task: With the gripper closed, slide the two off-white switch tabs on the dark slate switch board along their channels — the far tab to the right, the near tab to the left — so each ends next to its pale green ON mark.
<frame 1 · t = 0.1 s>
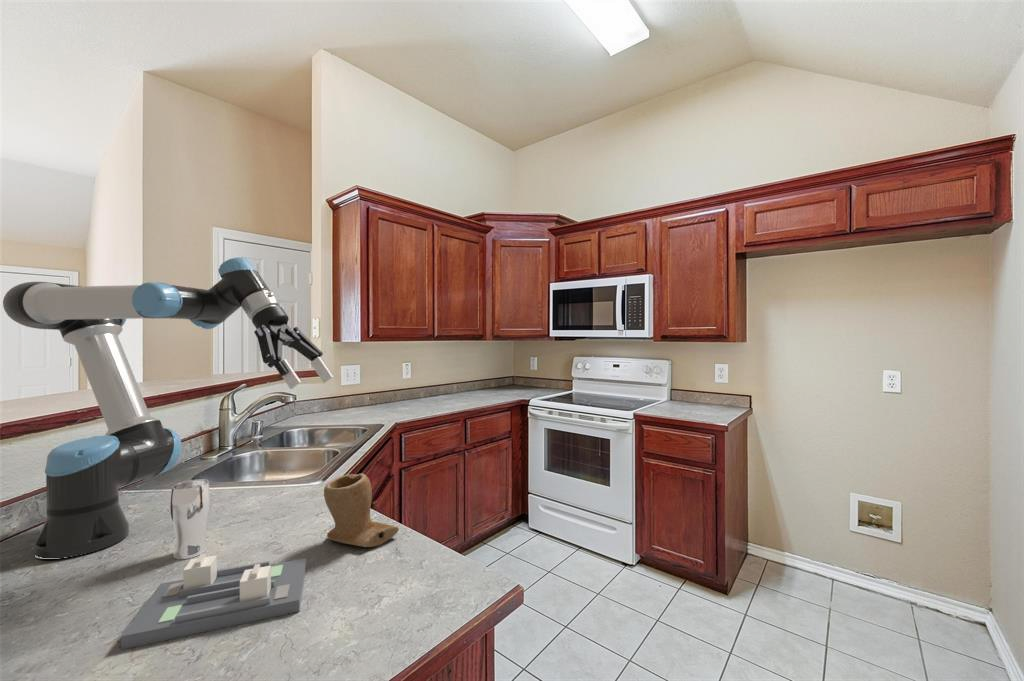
hand: (313, 382, 105), 36 cm above the counter, tool tilted 35°, fingers open, 13 cm apart
beer glass: (190, 553, 93), on the counter
tab b: (255, 582, 73), point 5 cm above the counter, slide at 0.0 cm
tab a: (200, 571, 77), point 5 cm above the counter, slide at 0.0 cm
switch board: (227, 602, 75), on the counter
clay platform pipe: (357, 542, 98), on the counter
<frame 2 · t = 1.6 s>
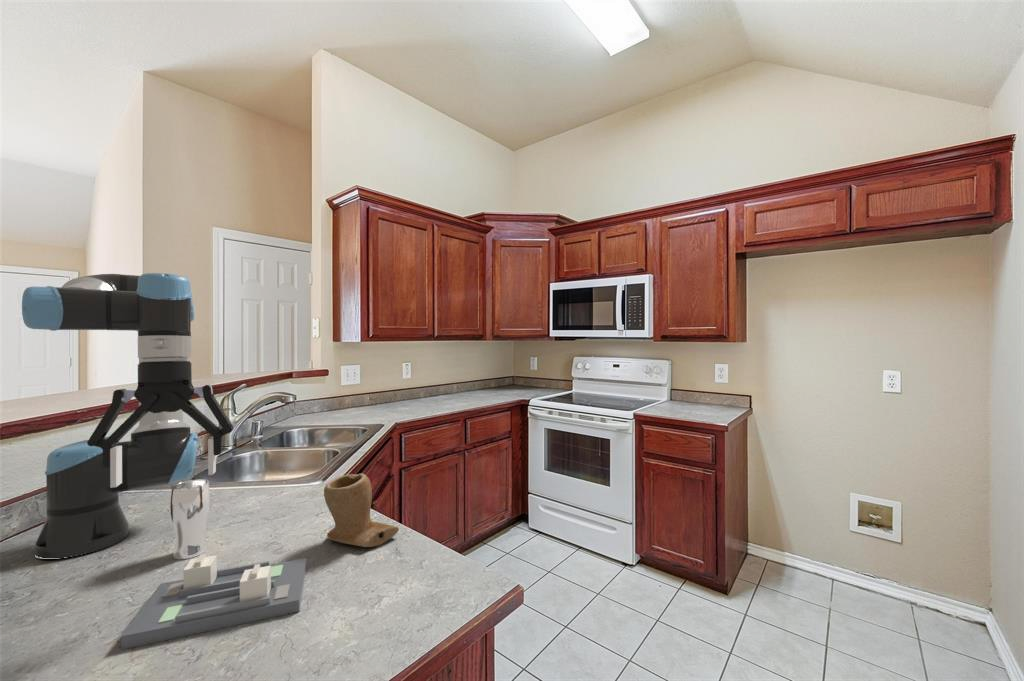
hand: (166, 479, 76), 22 cm above the counter, tool pointing down, fingers open, 13 cm apart
nothing on the counter moved.
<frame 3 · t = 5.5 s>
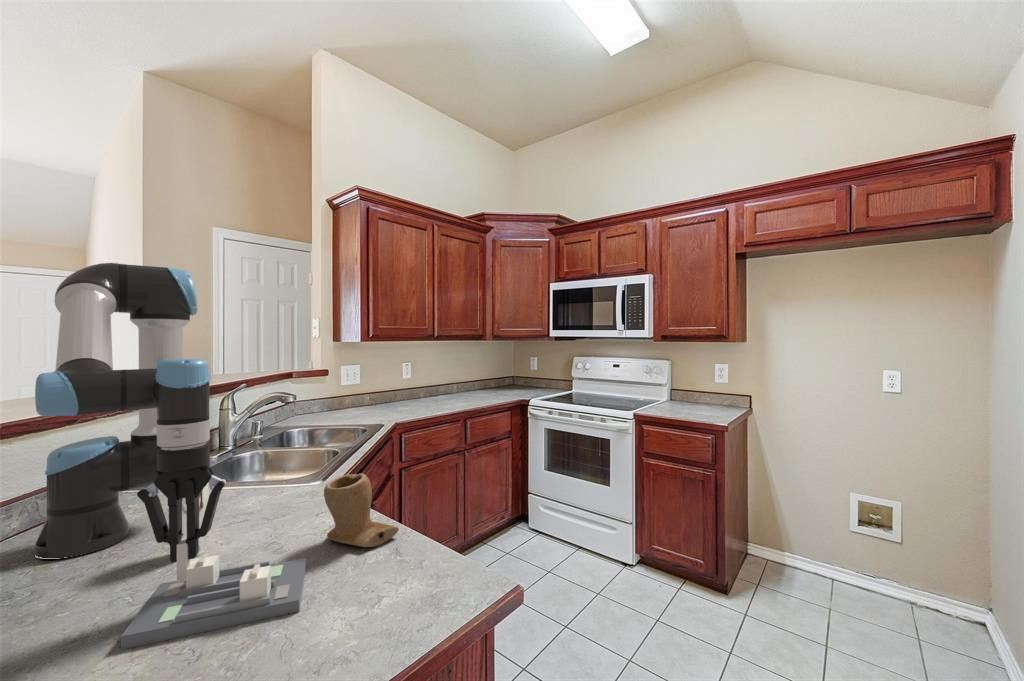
hand: (184, 577, 76), 4 cm above the counter, tool pointing down, fingers closed
tab a: (203, 570, 77), point 5 cm above the counter, slide at 0.4 cm, touching gripper
everything else where it was.
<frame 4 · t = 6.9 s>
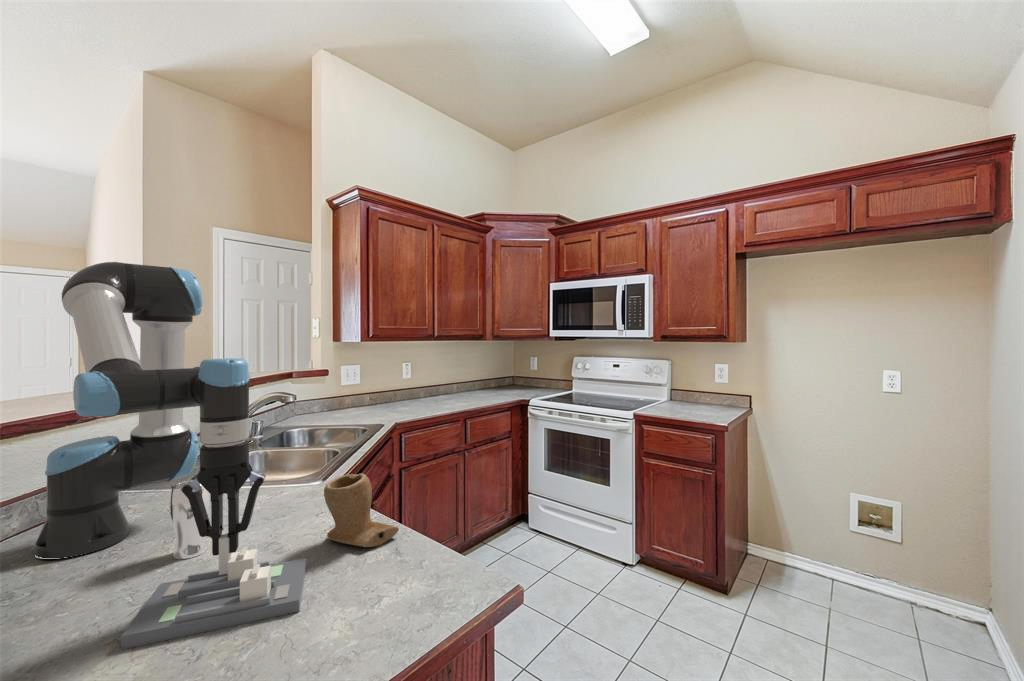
hand: (225, 570, 78), 4 cm above the counter, tool pointing down, fingers closed
tab a: (243, 564, 80), point 5 cm above the counter, slide at 6.6 cm, touching gripper
everything else where it was.
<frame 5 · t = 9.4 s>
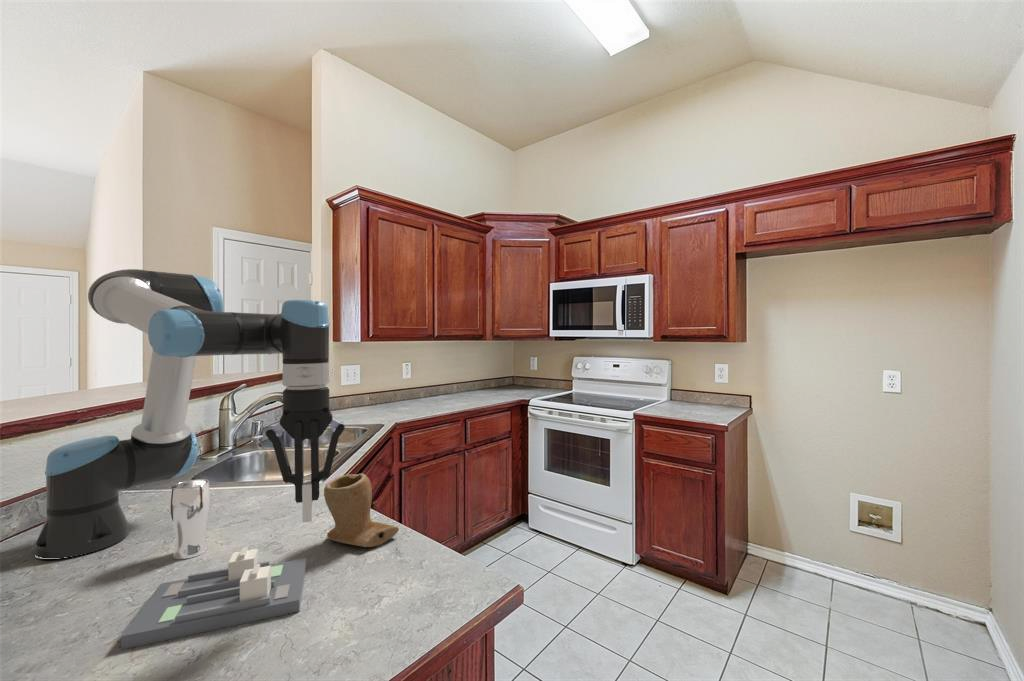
hand: (307, 518, 76), 14 cm above the counter, tool pointing down, fingers closed
tab a: (243, 563, 80), point 5 cm above the counter, slide at 6.7 cm
everything else where it was.
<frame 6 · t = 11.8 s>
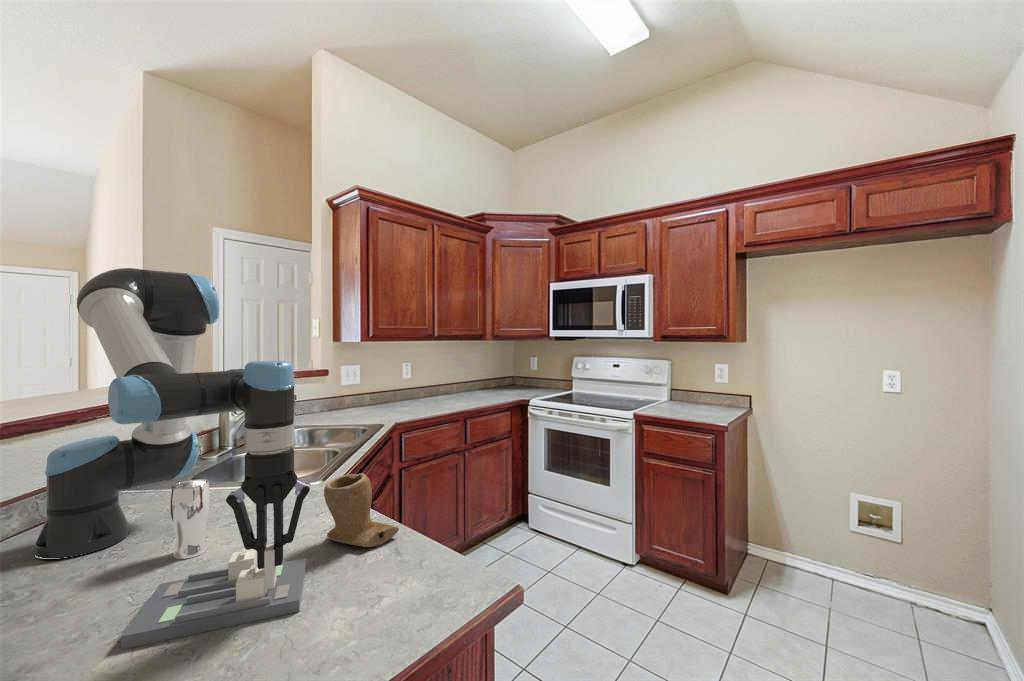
hand: (270, 584, 74), 4 cm above the counter, tool pointing down, fingers closed
tab b: (252, 583, 73), point 5 cm above the counter, slide at 0.5 cm, touching gripper
everything else where it was.
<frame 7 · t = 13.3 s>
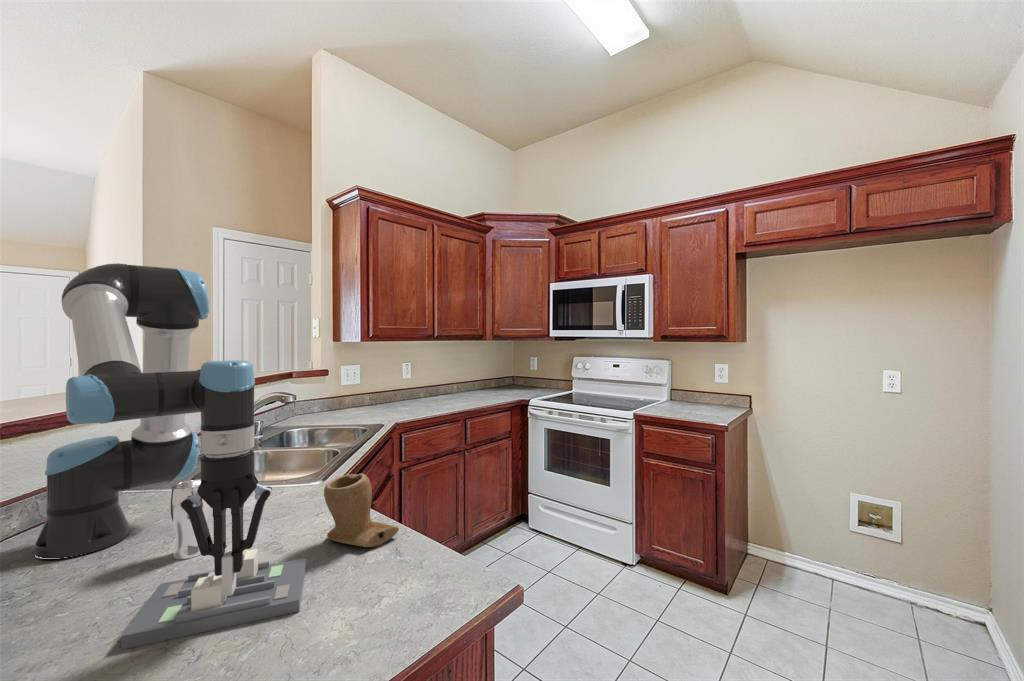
hand: (229, 591, 72), 4 cm above the counter, tool pointing down, fingers closed
tab b: (209, 591, 71), point 5 cm above the counter, slide at 6.7 cm, touching gripper
everything else where it was.
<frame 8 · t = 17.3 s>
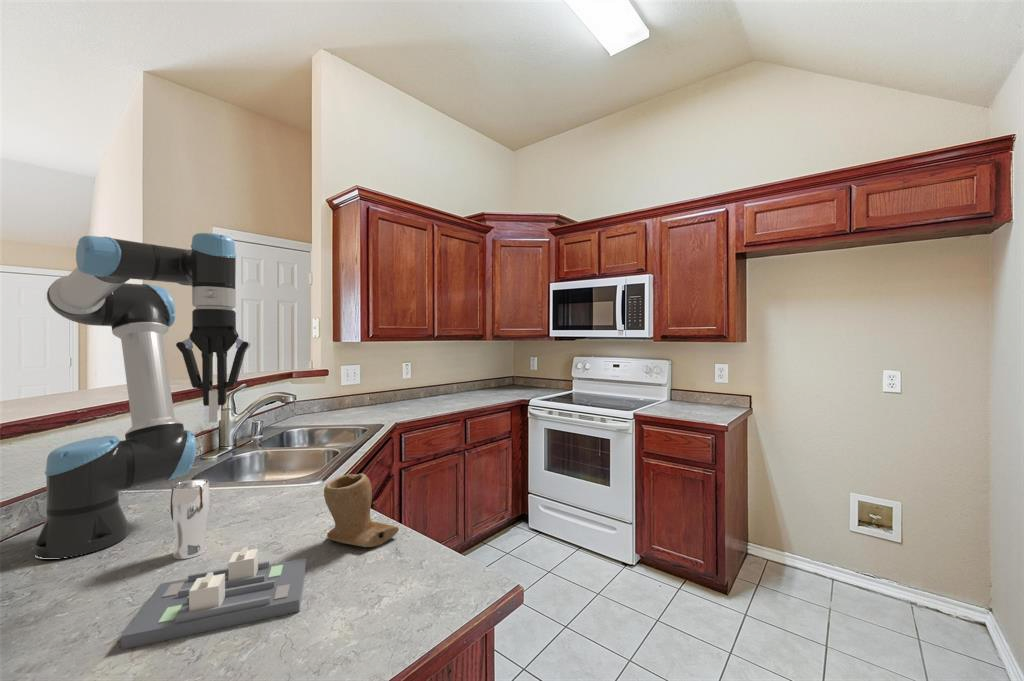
hand: (215, 420, 90), 29 cm above the counter, tool pointing down, fingers closed
tab b: (207, 591, 71), point 5 cm above the counter, slide at 6.9 cm
everything else where it was.
at the end: tab a slide at 6.7 cm; tab b slide at 6.9 cm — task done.
